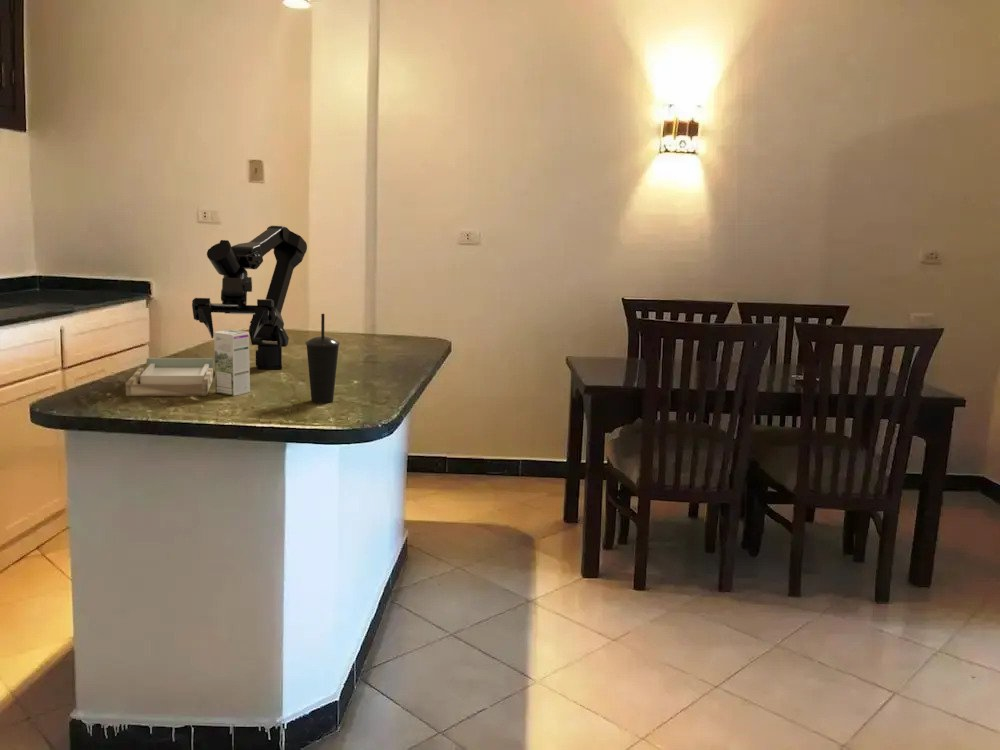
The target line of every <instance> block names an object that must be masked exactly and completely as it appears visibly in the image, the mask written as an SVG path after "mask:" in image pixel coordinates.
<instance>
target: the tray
mask: <svg viewBox="0 0 1000 750" xmlns="http://www.w3.org/2000/svg"><path fill="white" fill-rule="evenodd" d="M209 368H213V372H215V357H214V358H212V357H199V358H198V357H196V358H194V357H189V358H188V357H146V368H145V370H144V372H143V373H142V374H141V375H140V384H202V381H203V379H204V377H205V375H206V373H207V371H208V369H209Z"/></svg>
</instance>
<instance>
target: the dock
mask: <svg viewBox="0 0 1000 750" xmlns="http://www.w3.org/2000/svg"><path fill="white" fill-rule="evenodd" d="M144 371H145V370H144V367H141V368H138V369H137V370H136V371H135V372H134V373H133V374H132V375H131V377H130V378H129V379H128V380H127V381H126V382H125V397H205V396H206V397H207V396H208V394H209V391H210V388H211V386H212V383H213V382H214V371H213V368H209V369H208V371H207V373H206V375H205V377H204V379H203V381H202V384H140V375H141V374H142V373H143V372H144Z"/></svg>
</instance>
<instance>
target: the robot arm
mask: <svg viewBox="0 0 1000 750" xmlns="http://www.w3.org/2000/svg"><path fill="white" fill-rule="evenodd" d="M272 250H273V255H274V258H275V260H276V263H275V267H274V269H273V274H272V277H271V279H270V284H269V287H268V290H267V294H266V297H265V299H264V298H263V299H262V298H260V299H259V298H258V299H256V304H255V305H252V304H250V305H249V304H248V305H247V301H248V297H247V296H248V294H247V293H251V292H253V277H252V276H251V277H250V276H249V275H248V274H249V273H248V270H257V269H258V268H259V267H260V266H261V265H262V263H263V262H264V258H263V257H264V256H265V255H267V254H268V253H269V252H270V251H272ZM307 250H308V244H307V242H306V241H305V240H304V237H302V236H301V235H299V234H298V233H295V232H294V231H291V230H290V229H289V228H288V227H287V226H284V225H269V226H268V227H267V229H266V230H264V231H263V232H261V233H260V234H259V235H258V236H256V237H254V238H253V239H252V240H250V241H248V242H243V243H237V244H235V245H231V243H230V241H229V240H226V239H221V240H220V241H219V242H218V243H215V244H214V245H212V246H211V247H210V248H208V249H207V252H206V257H207V258H208V260H209V262H210V263H211V264H212V266H213V268H214V269H215V271H216V272H217V273H218V274H219V275H221V276H223V277H222V282H221V283H222V285H221V290H220V292H221V293H220V301H221V303H212V302H211V298H210V297H194V298H193V299H192V301H191V307H192V315H193V320H195V321H198V322H199V323H201V324H204V326H205V327H206V329H207V331H208V333H209V335H210V337H211V339H214V332H215V331H214V324H213V317H212V313H214V314H215V313H219V314H220V313H221V314H223V313H224V314H227V315H228V314H230V315H252V317H251V320H250V322H249V324H250V325H249V326H248V332H249V339H250V342H251V343H250V344H251V345H252V346H257V349H256V350H255V366H256V368H257V369H258V370H282V369H283V360H282V359H283V354H282V352H283V351H282V349H283V347H285V348H286V347H287V346H288V345H289V339H290V338H289V336H288V334H287V332H286V331H285V329H284V326H285V323H284V319H283V317H282V311H283V307H284V303H285V300H286V297H287V294H288V290H289V286H290V283H291V279H292V275H293V273H294V269H295V268H296V267H297V266H298V265H300V264H301V262H302V261H303V260H304V257H305V254H306V253H307Z"/></svg>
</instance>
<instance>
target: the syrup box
mask: <svg viewBox="0 0 1000 750" xmlns="http://www.w3.org/2000/svg"><path fill="white" fill-rule="evenodd" d="M213 332H214V337H213V340H214V341H213V342H214V347H213V348H214V376H215V378H214V380H215V383H214V384H215V387H214V388H215V393H216V394H221V395H226V396H227V395H228V396H232V397H233V396H235V397H236V396H240V395H245V394H249V393H250V392H251V382H250V381H251V380H250V376H251V375H250V371H251V370H250V334H249V331H244V330H243V331H242V330H233V329H224V330H218V331H213Z"/></svg>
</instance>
